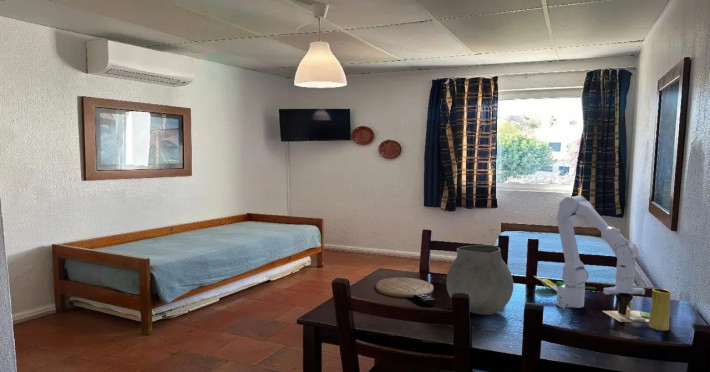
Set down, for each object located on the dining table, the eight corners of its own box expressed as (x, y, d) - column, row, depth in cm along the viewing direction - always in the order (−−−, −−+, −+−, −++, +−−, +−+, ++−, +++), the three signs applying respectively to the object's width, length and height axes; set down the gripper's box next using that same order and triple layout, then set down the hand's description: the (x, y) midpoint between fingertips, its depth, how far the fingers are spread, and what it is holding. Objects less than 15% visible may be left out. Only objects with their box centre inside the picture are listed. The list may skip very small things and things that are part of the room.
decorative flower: (584, 289, 217) (526, 283, 211) (587, 279, 216) (528, 272, 211) (603, 300, 204) (541, 293, 199) (606, 289, 204) (544, 282, 198)
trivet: (402, 278, 222) (402, 274, 222) (445, 291, 204) (445, 286, 204) (364, 288, 205) (364, 284, 205) (407, 302, 187) (407, 298, 187)
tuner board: (620, 325, 167) (620, 319, 166) (601, 314, 178) (602, 308, 177) (662, 324, 168) (663, 319, 168) (641, 313, 179) (642, 308, 179)
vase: (644, 327, 165) (646, 287, 164) (660, 327, 166) (663, 287, 164) (656, 334, 159) (659, 293, 158) (673, 333, 159) (676, 293, 158)
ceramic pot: (467, 297, 195) (470, 238, 193) (523, 312, 178) (526, 247, 175) (432, 310, 178) (435, 246, 176) (490, 329, 160) (493, 257, 158)
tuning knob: (616, 310, 178) (617, 296, 178) (628, 311, 177) (629, 298, 176) (621, 318, 169) (622, 304, 169) (634, 320, 168) (635, 306, 167)
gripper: (612, 279, 165) (610, 317, 166) (651, 279, 166) (649, 317, 167) (600, 274, 172) (598, 310, 173) (638, 274, 173) (636, 310, 174)
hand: (622, 313), depth 170 cm, fingers closed, pressing on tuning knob
